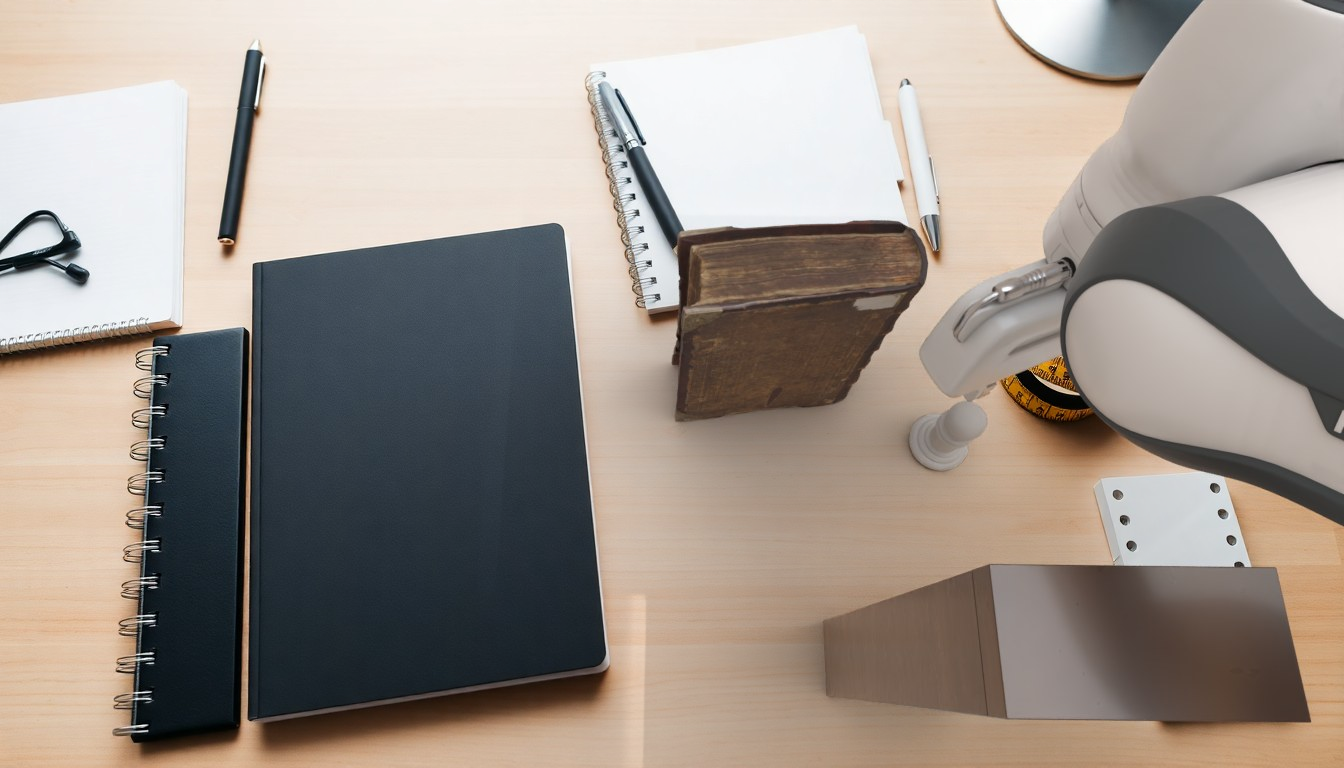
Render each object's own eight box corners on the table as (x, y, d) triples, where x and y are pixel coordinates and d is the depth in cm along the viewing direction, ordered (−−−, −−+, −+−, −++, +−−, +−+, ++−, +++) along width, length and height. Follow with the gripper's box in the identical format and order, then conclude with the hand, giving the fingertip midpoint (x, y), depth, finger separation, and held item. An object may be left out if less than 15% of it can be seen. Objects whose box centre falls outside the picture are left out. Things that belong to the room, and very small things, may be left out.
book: (848, 354, 78) (927, 216, 55) (853, 426, 76) (938, 315, 52) (671, 353, 78) (674, 214, 55) (671, 426, 76) (674, 313, 52)
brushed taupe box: (964, 622, 70) (1276, 567, 34) (972, 698, 68) (1312, 722, 32) (823, 620, 70) (988, 563, 34) (826, 696, 68) (1006, 719, 32)
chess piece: (978, 451, 75) (1018, 422, 67) (933, 483, 74) (968, 458, 66) (940, 404, 77) (975, 370, 68) (895, 435, 76) (925, 405, 67)
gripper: (1012, 345, 41) (924, 459, 53) (1316, 227, 46) (1171, 356, 58) (943, 250, 44) (874, 379, 56) (1237, 148, 48) (1114, 287, 60)
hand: (1027, 367), depth 57 cm, fingers open, 8 cm apart
